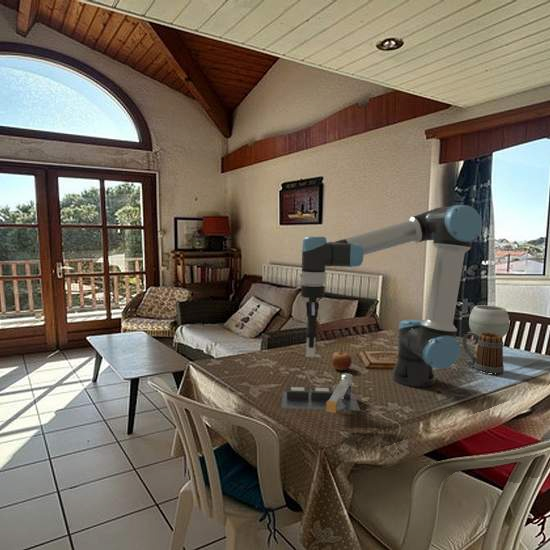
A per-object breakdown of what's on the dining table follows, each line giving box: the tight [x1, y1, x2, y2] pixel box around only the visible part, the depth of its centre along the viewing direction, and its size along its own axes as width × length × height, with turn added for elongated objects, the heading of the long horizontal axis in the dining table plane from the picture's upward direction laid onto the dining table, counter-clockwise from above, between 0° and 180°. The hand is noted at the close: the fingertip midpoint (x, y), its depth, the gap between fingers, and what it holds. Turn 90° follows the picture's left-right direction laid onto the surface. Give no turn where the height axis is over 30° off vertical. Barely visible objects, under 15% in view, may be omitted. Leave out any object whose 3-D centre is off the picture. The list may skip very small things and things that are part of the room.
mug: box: [462, 331, 505, 375], centre depth 161 cm, size 16×11×15 cm
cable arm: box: [325, 372, 353, 414], centre depth 120 cm, size 24×4×3 cm, turn 159°
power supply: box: [310, 386, 334, 400], centre depth 130 cm, size 7×5×2 cm
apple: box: [331, 349, 352, 371], centre depth 160 cm, size 8×8×8 cm
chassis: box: [281, 386, 361, 412], centre depth 127 cm, size 24×13×5 cm, turn 87°
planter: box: [468, 304, 510, 352], centre depth 179 cm, size 16×16×22 cm
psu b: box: [286, 385, 309, 400], centre depth 130 cm, size 7×5×2 cm
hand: (310, 356), depth 129 cm, fingers closed
